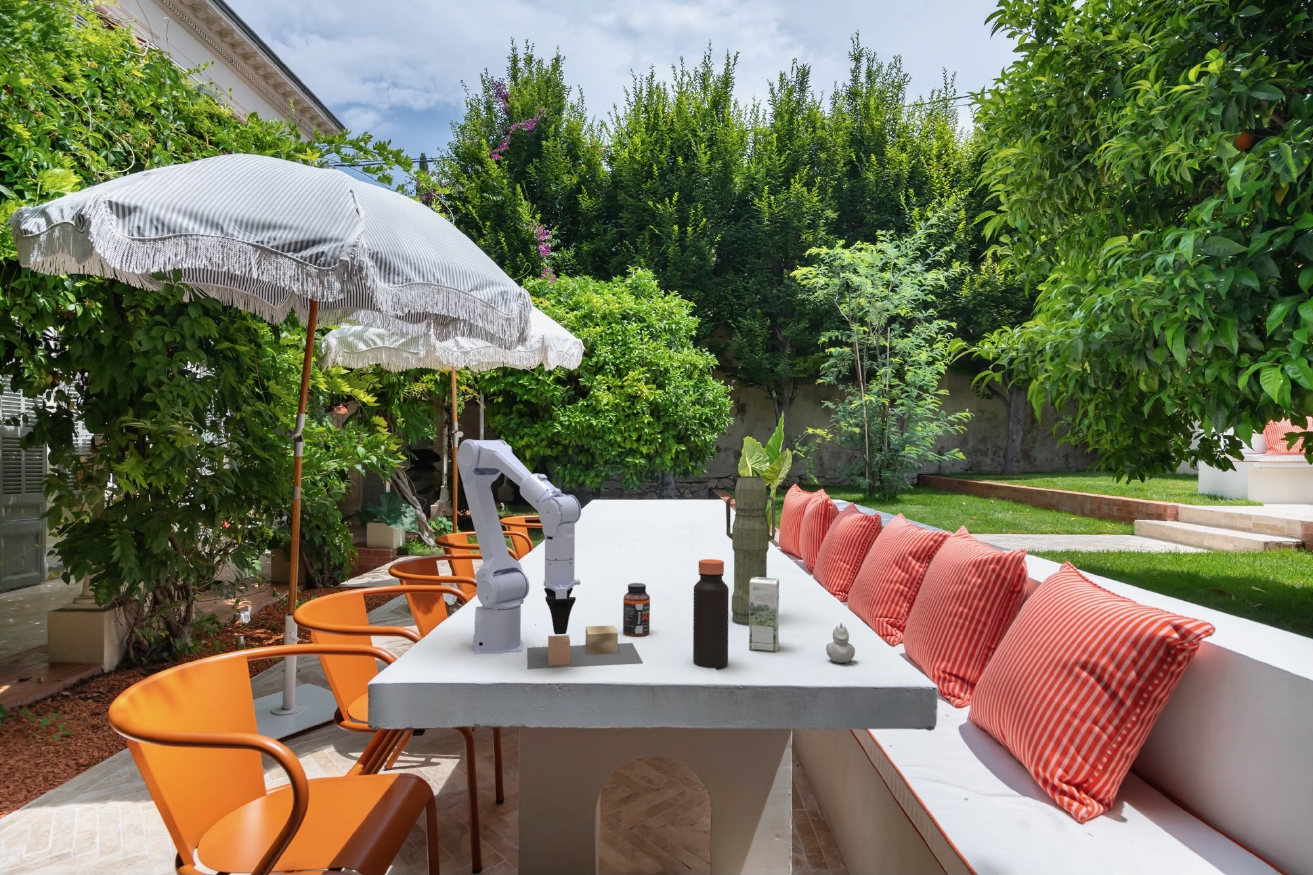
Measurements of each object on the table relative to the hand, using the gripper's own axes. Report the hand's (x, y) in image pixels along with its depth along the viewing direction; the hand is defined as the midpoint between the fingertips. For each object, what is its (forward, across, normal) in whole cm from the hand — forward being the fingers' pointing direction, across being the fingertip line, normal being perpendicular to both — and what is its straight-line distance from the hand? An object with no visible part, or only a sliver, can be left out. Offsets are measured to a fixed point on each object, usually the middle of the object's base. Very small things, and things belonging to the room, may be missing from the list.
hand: (559, 628), depth 136 cm
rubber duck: (+7, -7, -55) cm, 56 cm away
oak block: (+6, +7, -9) cm, 13 cm away
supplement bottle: (+7, +18, -18) cm, 26 cm away
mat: (+7, +4, -5) cm, 9 cm away
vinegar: (+7, -5, -29) cm, 30 cm away
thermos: (+7, +26, -47) cm, 54 cm away
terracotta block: (+6, 0, 0) cm, 6 cm away
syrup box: (+7, +4, -43) cm, 44 cm away
